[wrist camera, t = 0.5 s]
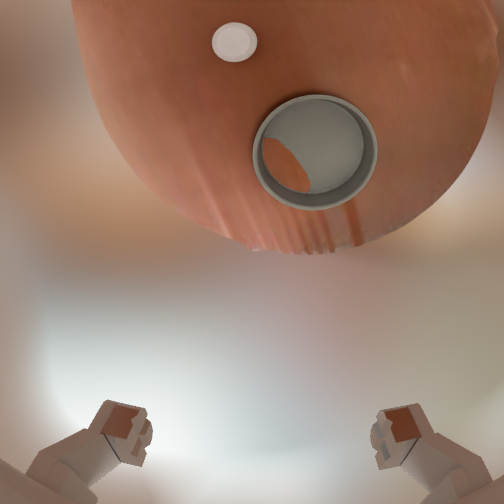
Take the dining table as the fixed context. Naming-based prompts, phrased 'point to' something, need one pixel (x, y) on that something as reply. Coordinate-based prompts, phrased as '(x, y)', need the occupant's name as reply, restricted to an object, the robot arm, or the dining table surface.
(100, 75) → the dining table surface
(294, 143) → the cake pan
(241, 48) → the supplement bottle
